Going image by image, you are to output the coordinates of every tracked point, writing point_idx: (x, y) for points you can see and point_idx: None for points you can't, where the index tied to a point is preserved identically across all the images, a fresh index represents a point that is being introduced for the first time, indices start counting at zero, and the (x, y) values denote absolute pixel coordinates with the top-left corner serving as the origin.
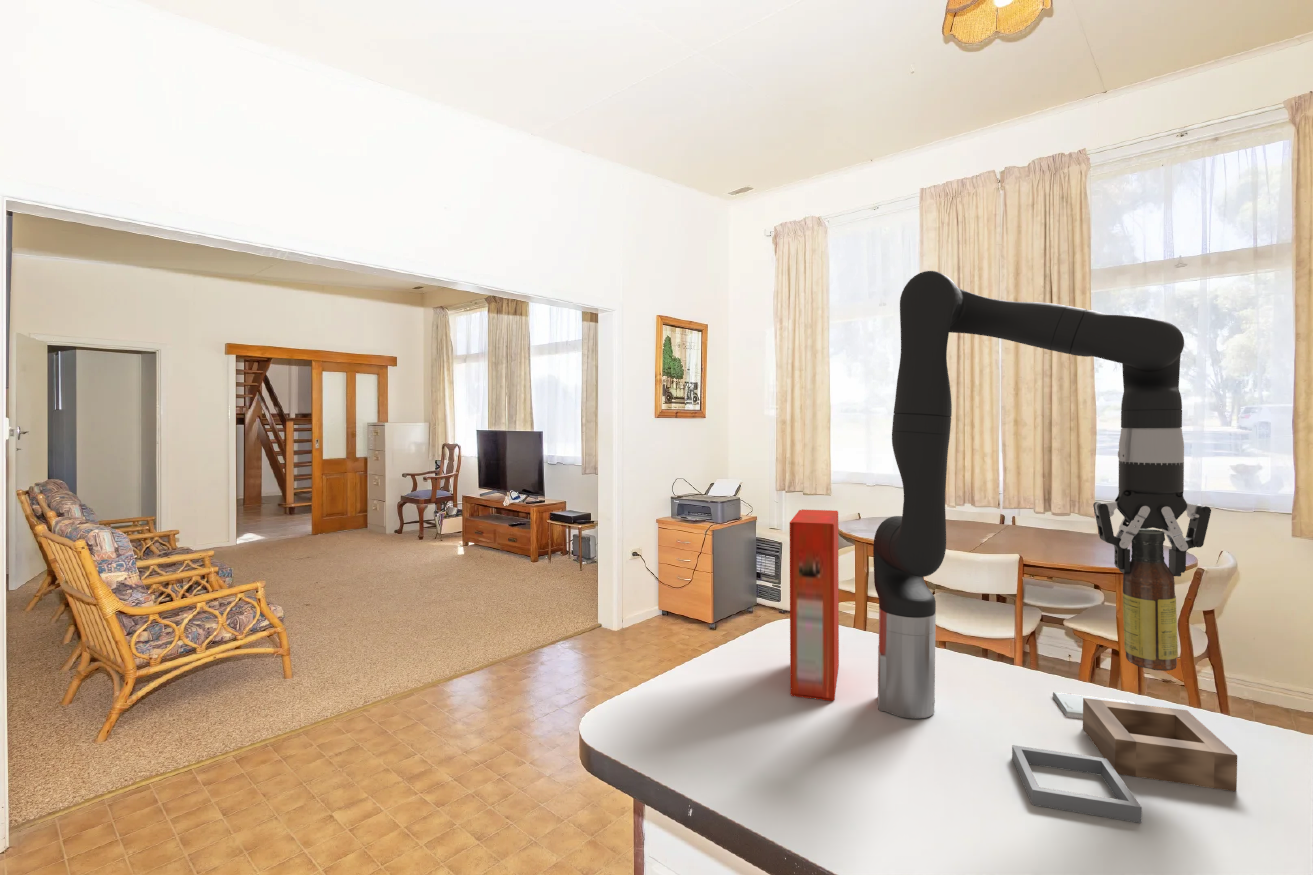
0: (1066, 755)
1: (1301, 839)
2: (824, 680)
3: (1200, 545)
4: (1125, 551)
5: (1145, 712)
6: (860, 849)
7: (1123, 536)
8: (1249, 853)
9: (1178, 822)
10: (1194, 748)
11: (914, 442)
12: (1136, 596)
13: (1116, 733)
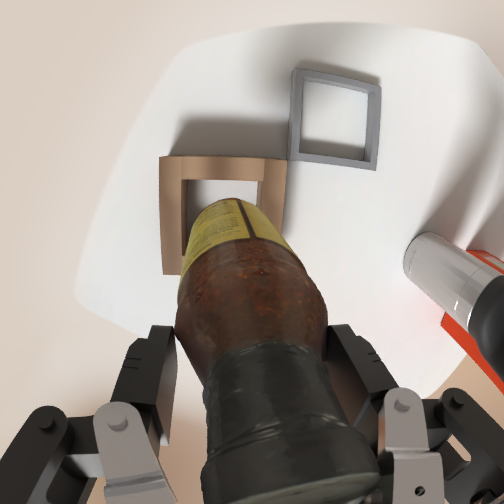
0: (330, 157)
1: (157, 84)
2: (481, 256)
3: (43, 412)
4: (381, 380)
5: None
6: (465, 48)
7: (426, 430)
8: (217, 48)
9: (256, 79)
10: (200, 160)
11: None
12: (299, 262)
13: (279, 177)
